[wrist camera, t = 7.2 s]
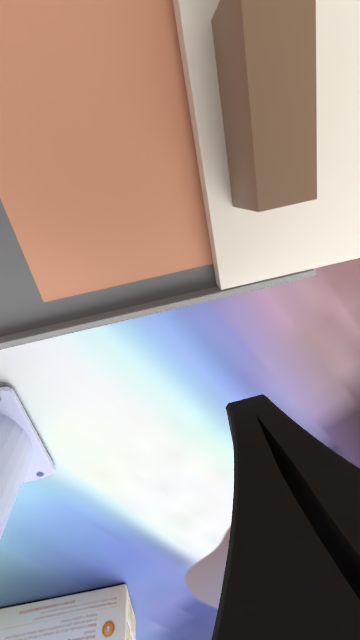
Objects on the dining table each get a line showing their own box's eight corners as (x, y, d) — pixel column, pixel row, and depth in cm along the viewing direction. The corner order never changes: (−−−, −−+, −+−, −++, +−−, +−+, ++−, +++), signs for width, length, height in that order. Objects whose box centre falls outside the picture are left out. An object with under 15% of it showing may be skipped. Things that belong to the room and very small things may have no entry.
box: (17, 319, 18) (-13, 352, 14) (-132, 2, 12) (-246, -77, 8) (281, 258, 18) (315, 275, 15) (262, -75, 12) (311, -178, 9)
